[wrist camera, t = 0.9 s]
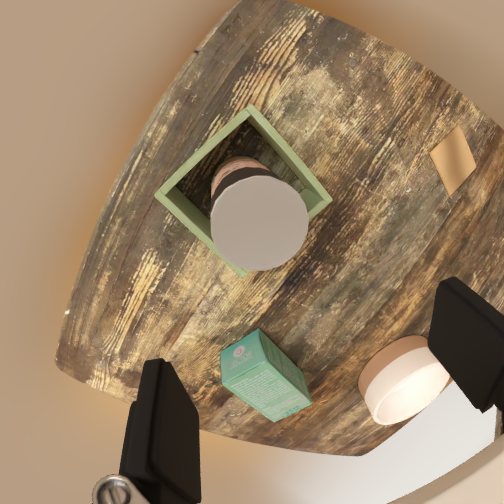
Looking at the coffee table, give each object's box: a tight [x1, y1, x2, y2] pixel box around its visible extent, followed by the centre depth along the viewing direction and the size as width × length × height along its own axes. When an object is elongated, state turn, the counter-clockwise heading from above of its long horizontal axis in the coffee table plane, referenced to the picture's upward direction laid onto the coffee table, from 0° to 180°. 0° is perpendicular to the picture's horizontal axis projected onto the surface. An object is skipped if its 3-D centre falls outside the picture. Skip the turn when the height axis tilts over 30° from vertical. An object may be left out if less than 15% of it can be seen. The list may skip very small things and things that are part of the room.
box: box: [220, 328, 312, 422], centre depth 42 cm, size 7×14×8 cm, turn 35°
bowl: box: [358, 335, 450, 425], centre depth 48 cm, size 17×17×8 cm
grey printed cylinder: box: [211, 156, 309, 271], centre depth 27 cm, size 7×7×15 cm
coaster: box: [429, 125, 476, 196], centre depth 35 cm, size 8×8×1 cm
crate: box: [154, 104, 333, 278], centre depth 31 cm, size 13×13×6 cm
